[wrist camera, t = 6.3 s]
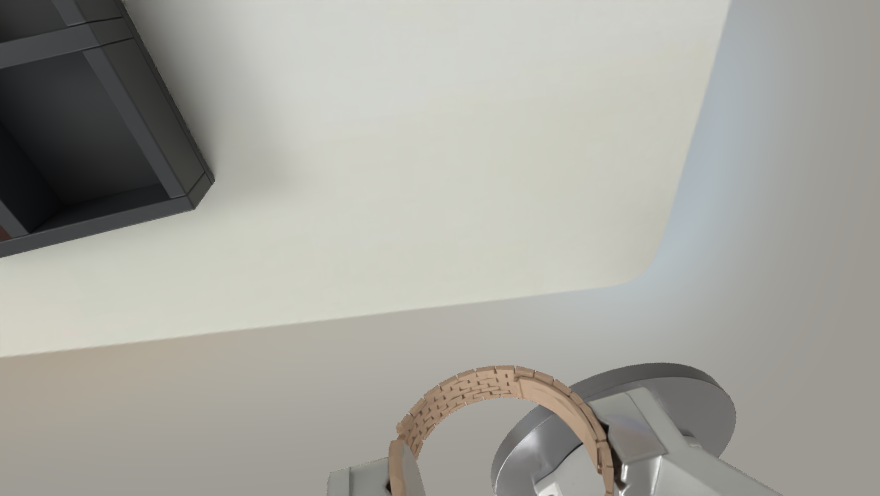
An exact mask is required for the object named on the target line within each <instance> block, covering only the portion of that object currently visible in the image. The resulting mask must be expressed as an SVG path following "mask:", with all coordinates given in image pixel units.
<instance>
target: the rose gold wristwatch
mask: <svg viewBox="0 0 880 496" xmlns="http://www.w3.org/2000/svg"><path fill="white" fill-rule="evenodd" d="M457 375H458V379H457V378H456V376H453V377H451V378H449V379H447V380H445V381H443V382H441V383H440V384H439V385H440V388H439V386H438V385H437V386H436V387H434V388H433V389H431V390H430V391H428V392H427V393H426V394H424V399H425V400H423V399H422V398H421V399H420V400H419V401H418V402H417V404H415V406H414V407H413V408H412V409H411V410H410V411H409V413H410V414H411V415H408V414H407V415H406V416H405V417H404V418H403V420H402V421H401V423H398V424H397V426H396V429H397V433H398V434H399V436H398V438H397V440H395V441H394V440H393V441H391V443H390V447H389V476H390V485H391V492H392V496H426V495H425V491H424V487H423V484H422V480H421V476H420V472H419V468H418V465H417V462H416V460H417V459H418V455H419V453H420V450H421V448H422V445H423V441H422V440H425V439H426V438H427V437H428V436H429V434H430V433H431V432H432V431H433V429H434V428H435V426H434V424H435V425H437V424H439V423H440V422H441V421H442V420H443V419H444V418H445V417H446V416H448V415H449V414H451V413H452V412H454V411H456V410H458V409H460V408H461V407H463V406H465V402H466V404H467V405H469V404H472V403H475V402H478V401H481V400H483V398H482V397H484V399H485V400H486V399H493V398H500V395H501V394H502V397H509V398H518V399H521V398H522V399H527V400H530V401H533V402H536V403H539V404H541V405H543V406H544V407H546V408H548V409H550V410H552V411H554V412H555V413H556V414H557V415H558V416H559V417H560V418H561V419H562V420H563V421H564V422H565V423H566V424H567V425H568V426H569V427H570V428H571V429H572V430H573V431H574V432H575V434H576V435H577V436H578V437H579V439H580V440H581V441H582V442H583V444H584V445H585V447H586V449H587V451H588V454H589V456H590V458H591V460H592V462H593V464H594V466H595V468H596V471H597V473H598V474H600V475H602V476H603V481H604V485H605V490H606V492H605V495H604V496H614V468H613V463H612V458H611V453H610V449H609V445H608V443H607V442H606V434H605V432H604V430H603V428H602V427H601V425H600V423H599V422H598V420H597V418H596V417H595V415H594V413H593V411H592V410H591V408H589V407H588V406H587V405H586V404H585V403H584V401H583V400H582V399H581V398H580V397H579V396H578V395H577V394H576V393H572V390H571V389H570V388H568V387H567V386H565V385H564V384H563V383H561V382H560V381H558V380H557V379H556V380H555V381H554V379H553V377H552V376H549V375H547V374H544V373H541V372H538V371H536V372H535V370H532V369H527V368H524V367H520V366H517V367H516V370H515V368H514V366H496V369H495V367H494V366H489V367H482V368H477V370H476V372H475V371H474V370H473V369H472V370H469V371H465V372H463V373H459V374H457ZM467 379H469V380H467ZM462 394H463V395H462ZM448 411H449V412H448ZM598 465H599V467H600V468H602V469H598Z"/></svg>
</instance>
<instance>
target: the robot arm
mask: <svg viewBox="0 0 880 496" xmlns="http://www.w3.org/2000/svg"><path fill="white" fill-rule="evenodd" d="M586 405H587V406H588V407H589V408H591V410H592V411H593V413H594V415H595V417H596V418H597V420H598V422H599V423H600V425H601V427H602V428H603V430H604V432H605V434H606V442H607V443H608V445H609V449H610V453H611V458H612V463H613V468H614V496H783V495H781V494H780V493H778V492H776V491H774V490H773V489H771V488H769V487H768V486H766V485H764V484H762V483H761V482H759V481H757V480H756V479H753V478H752V477H750V476H748V475H747V474H745V473H743V472H742V471H740V470H738V469H736V468H735V467H733V466H731V465H730V464H728V463H726V462H724V461H723V460H721V459H719V458H718V457H716V456H714V455H712V454H711V453H709V452H707V451H705V450H704V449H702V446H701V444H700V443H699V441H698V440H697V438H695V437H691V436H683V435H682V434H681V433H680V431H679V430H678V429H677V427H676V426H675V425H674V423H673V422H672V420H671V419H670V418H669V416H668V415H667V414H666V412H665V411H664V410H663V408H662V407H661V405H660V404H659V403H658V401H657V400H656V399H655V397H654V396H653V394H652V393H651V392H650V391H649V390H648V389H647V388H645V387H640V388H637V389H633V390H629V391H626V392H621V393H618V394H614V395H611V396H607V397H604V398H601V399H597V400H594V401H590V402H587V403H586ZM598 469H602V468H600V467H599V465H598ZM534 490H535V492H536V494H537V496H604V495H605V492H606V490H605V485H604V481H603V476H602V475H600V474H598V473H597V471H596V468H595V466H594V464H593V462H592V460H591V458H590V456H589V454H588V451H587V449H586V447H585V445H584V444H583V445H581V446H580V447H578V448H577V449H576V450H574V451H573V452H572V453H571V454H570V455H569V456H568V457H567V458H566V459H565V460H564V461H563V462H562V463H561V464H560V466H559V467H558V468H557V469H556V470H555V471H554V472H552V473H551V474H549V475H548V476H546V477H545V478H543V479H542V480H540V481H539V482H538V483H537V484H536V485H535V487H534ZM327 496H392V492H391V485H390V476H389V457H386V458H383V459H380V460H376V461H372V462H368V463H365V464H361V465H357V466H354V467H349V468H345V469H341V470H338V471H334V472H331V473H330V474H329V478H328V482H327Z"/></svg>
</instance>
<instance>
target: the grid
mask: <svg viewBox="0 0 880 496" xmlns="http://www.w3.org/2000/svg"><path fill="white" fill-rule="evenodd" d="M214 182H215V179H214V178H213V176H212V174H211V172H210V170H209V168H208V166H207V164H206V162H205V160H204V158H203V157H202V155H201V153H200V151H199V149H198V147H197V145H196V143H195V141H194V139H193V137H192V136H191V134H190V132H189V130H188V128H187V126H186V124H185V122H184V120H183V118H182V116H181V115H180V113H179V111H178V109H177V107H176V105H175V103H174V101H173V99H172V97H171V95H170V94H169V92H168V90H167V88H166V86H165V84H164V82H163V80H162V78H161V76H160V74H159V73H158V71H157V69H156V67H155V65H154V63H153V61H152V59H151V57H150V55H149V53H148V52H147V50H146V48H145V46H144V44H143V42H142V40H141V38H140V36H139V34H138V32H137V31H136V29H135V27H134V25H133V23H132V21H131V19H130V17H129V15H128V13H127V11H126V10H125V8H124V6H123V4H122V2H121V0H0V258H2V257H6V256H10V255H14V254H18V253H22V252H26V251H30V250H34V249H38V248H42V247H46V246H50V245H54V244H58V243H62V242H66V241H70V240H74V239H78V238H82V237H86V236H90V235H94V234H99V233H103V232H107V231H111V230H115V229H119V228H123V227H127V226H131V225H135V224H139V223H143V222H147V221H151V220H155V219H159V218H163V217H167V216H171V215H175V214H179V213H183V212H187V211H191V210H195V209H196V207H197V206H198V204H199V203H200V201H201V200H202V199H203V197H204V196H205V194H206V193H207V191H208V190H209V188H210V187H211V185H213V183H214Z"/></svg>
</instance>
